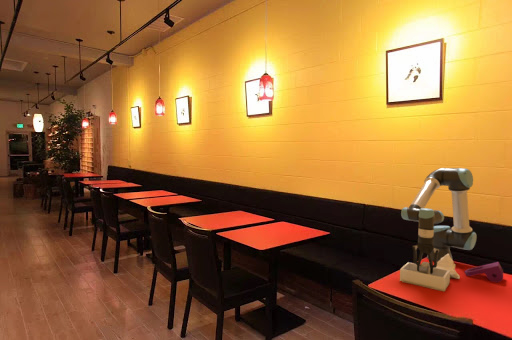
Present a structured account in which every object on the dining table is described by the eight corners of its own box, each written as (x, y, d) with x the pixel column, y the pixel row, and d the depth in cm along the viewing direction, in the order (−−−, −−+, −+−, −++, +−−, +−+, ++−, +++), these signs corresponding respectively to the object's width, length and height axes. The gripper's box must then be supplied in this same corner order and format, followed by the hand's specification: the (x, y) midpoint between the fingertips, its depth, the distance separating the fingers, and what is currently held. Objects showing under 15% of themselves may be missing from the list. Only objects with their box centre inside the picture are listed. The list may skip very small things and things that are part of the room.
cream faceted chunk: (431, 273, 202) (434, 250, 204) (459, 280, 193) (462, 256, 195) (429, 273, 192) (432, 249, 194) (458, 281, 183) (462, 256, 185)
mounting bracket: (470, 287, 191) (506, 280, 181) (463, 273, 193) (498, 265, 183) (472, 282, 199) (506, 276, 189) (465, 269, 201) (498, 261, 191)
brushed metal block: (422, 275, 188) (423, 261, 188) (430, 276, 185) (431, 263, 185) (418, 280, 180) (419, 265, 180) (426, 282, 178) (427, 267, 177)
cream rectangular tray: (407, 273, 196) (407, 262, 196) (449, 282, 182) (450, 270, 182) (399, 281, 184) (400, 269, 183) (444, 291, 170) (444, 278, 169)
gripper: (407, 235, 185) (406, 276, 185) (441, 240, 174) (440, 283, 174) (411, 233, 190) (410, 272, 191) (444, 237, 180) (443, 279, 180)
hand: (424, 277), depth 183 cm, fingers closed on brushed metal block, 4 cm apart
